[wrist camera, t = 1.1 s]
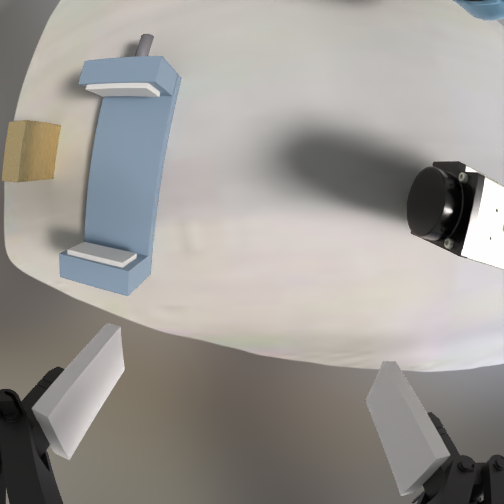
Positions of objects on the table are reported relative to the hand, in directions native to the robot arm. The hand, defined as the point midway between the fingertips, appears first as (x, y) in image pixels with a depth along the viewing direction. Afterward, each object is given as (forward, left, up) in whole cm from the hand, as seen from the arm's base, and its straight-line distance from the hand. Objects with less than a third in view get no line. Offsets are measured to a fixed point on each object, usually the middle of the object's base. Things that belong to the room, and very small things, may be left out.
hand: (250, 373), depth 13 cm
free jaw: (-21, -18, -22) cm, 35 cm away
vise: (-7, -18, -24) cm, 31 cm away
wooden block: (-9, -33, -24) cm, 42 cm away
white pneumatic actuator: (-11, +23, -24) cm, 35 cm away
